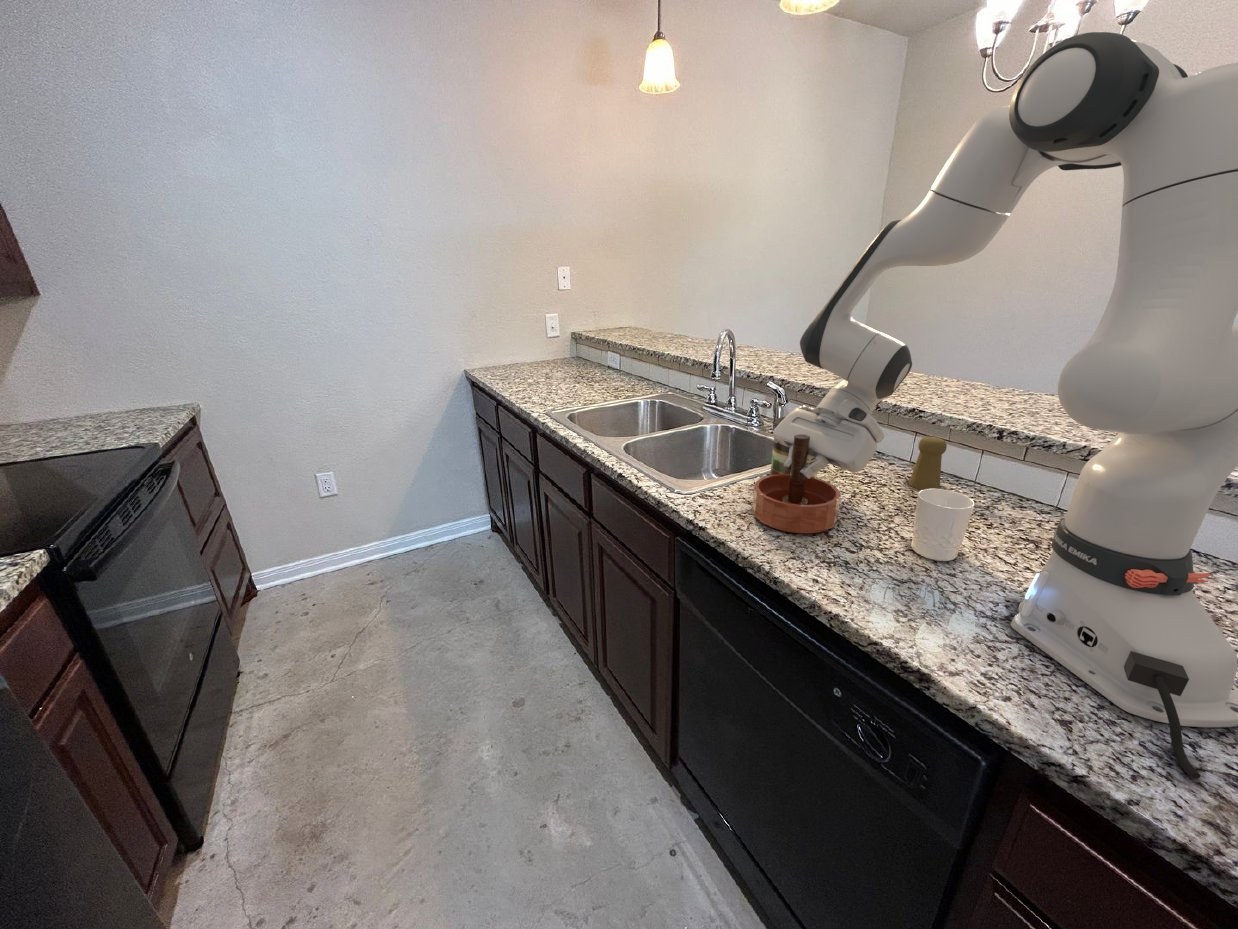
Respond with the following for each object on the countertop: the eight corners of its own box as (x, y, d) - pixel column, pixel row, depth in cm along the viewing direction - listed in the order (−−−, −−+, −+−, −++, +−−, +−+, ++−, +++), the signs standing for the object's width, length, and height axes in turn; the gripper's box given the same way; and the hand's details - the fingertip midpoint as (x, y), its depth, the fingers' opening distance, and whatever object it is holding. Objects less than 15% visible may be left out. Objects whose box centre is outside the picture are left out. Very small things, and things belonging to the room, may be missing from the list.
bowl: (849, 536, 91) (853, 506, 88) (762, 536, 91) (765, 506, 89) (820, 499, 105) (823, 473, 103) (745, 499, 106) (747, 473, 104)
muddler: (809, 519, 96) (819, 440, 90) (784, 519, 96) (792, 440, 90) (802, 508, 100) (811, 432, 94) (778, 508, 100) (785, 432, 95)
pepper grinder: (931, 480, 113) (941, 434, 109) (945, 491, 108) (956, 442, 104) (903, 479, 114) (912, 433, 110) (915, 490, 108) (925, 442, 104)
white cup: (950, 569, 80) (964, 513, 76) (899, 550, 86) (910, 497, 82) (967, 552, 85) (982, 498, 81) (918, 535, 90) (929, 484, 87)
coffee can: (765, 485, 113) (771, 425, 107) (773, 469, 121) (779, 413, 116) (813, 492, 108) (821, 431, 103) (818, 476, 117) (826, 418, 112)
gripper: (792, 394, 102) (751, 447, 102) (880, 418, 85) (830, 482, 84) (806, 412, 105) (766, 463, 105) (893, 439, 88) (845, 500, 88)
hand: (795, 472), depth 95 cm, fingers closed on muddler, 3 cm apart
